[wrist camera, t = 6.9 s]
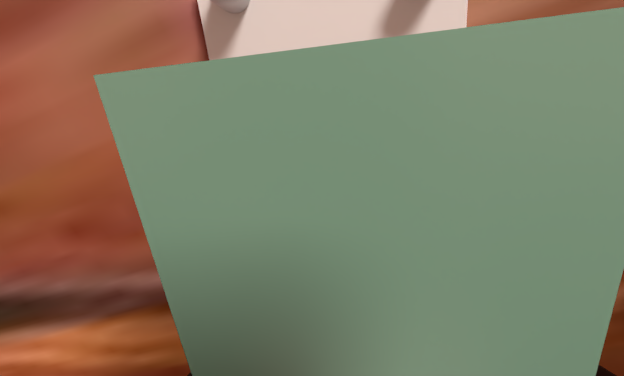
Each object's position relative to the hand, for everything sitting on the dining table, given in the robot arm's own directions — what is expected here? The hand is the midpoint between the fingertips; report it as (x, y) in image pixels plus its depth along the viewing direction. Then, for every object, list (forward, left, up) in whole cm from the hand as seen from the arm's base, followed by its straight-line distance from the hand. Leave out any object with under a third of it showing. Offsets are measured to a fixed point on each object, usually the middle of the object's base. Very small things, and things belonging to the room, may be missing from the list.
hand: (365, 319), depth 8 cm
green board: (0, 0, -1) cm, 1 cm away
